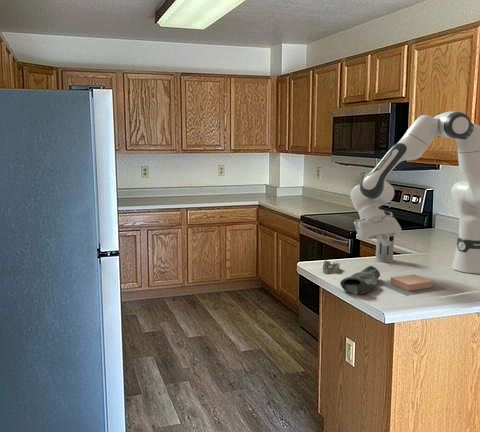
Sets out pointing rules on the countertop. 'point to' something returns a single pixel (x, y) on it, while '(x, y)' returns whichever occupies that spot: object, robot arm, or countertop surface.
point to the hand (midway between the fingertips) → (387, 245)
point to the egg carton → (330, 267)
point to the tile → (411, 282)
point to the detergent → (361, 281)
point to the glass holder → (385, 251)
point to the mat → (413, 292)
